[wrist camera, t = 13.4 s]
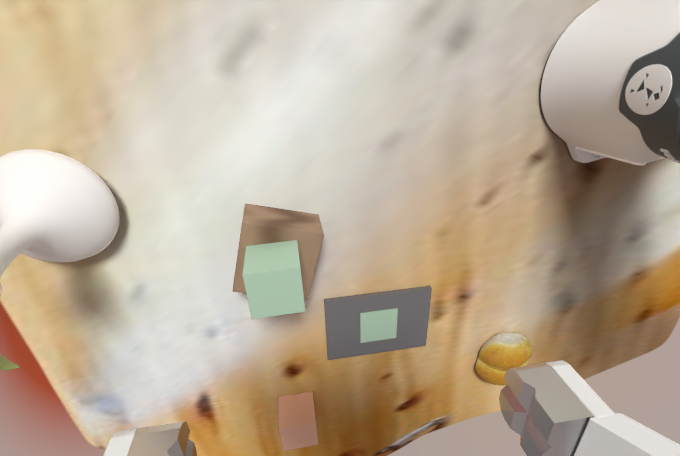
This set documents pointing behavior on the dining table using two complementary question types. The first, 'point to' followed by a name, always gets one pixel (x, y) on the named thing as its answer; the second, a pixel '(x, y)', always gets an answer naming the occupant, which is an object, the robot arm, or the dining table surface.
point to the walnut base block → (280, 238)
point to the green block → (273, 279)
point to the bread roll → (502, 356)
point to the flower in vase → (52, 210)
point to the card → (377, 322)
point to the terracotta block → (297, 421)
